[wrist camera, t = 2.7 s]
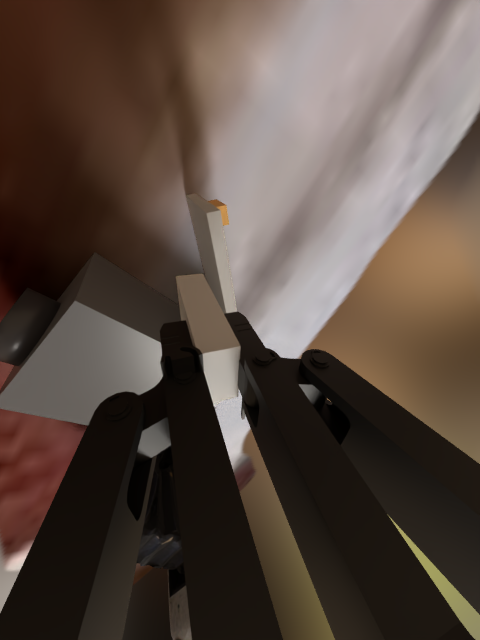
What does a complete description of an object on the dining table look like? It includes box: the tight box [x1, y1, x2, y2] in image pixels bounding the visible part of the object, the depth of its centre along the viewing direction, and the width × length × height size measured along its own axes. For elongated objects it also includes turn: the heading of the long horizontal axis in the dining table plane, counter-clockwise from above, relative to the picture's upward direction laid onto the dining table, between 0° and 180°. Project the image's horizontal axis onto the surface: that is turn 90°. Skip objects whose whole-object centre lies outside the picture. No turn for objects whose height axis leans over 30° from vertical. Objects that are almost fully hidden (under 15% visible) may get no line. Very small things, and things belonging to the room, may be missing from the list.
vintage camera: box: [137, 445, 192, 640], centre depth 26 cm, size 10×16×20 cm, turn 46°
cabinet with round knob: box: [0, 252, 221, 425], centre depth 20 cm, size 16×9×9 cm, turn 42°
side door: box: [186, 193, 237, 314], centre depth 20 cm, size 14×2×7 cm, turn 7°
